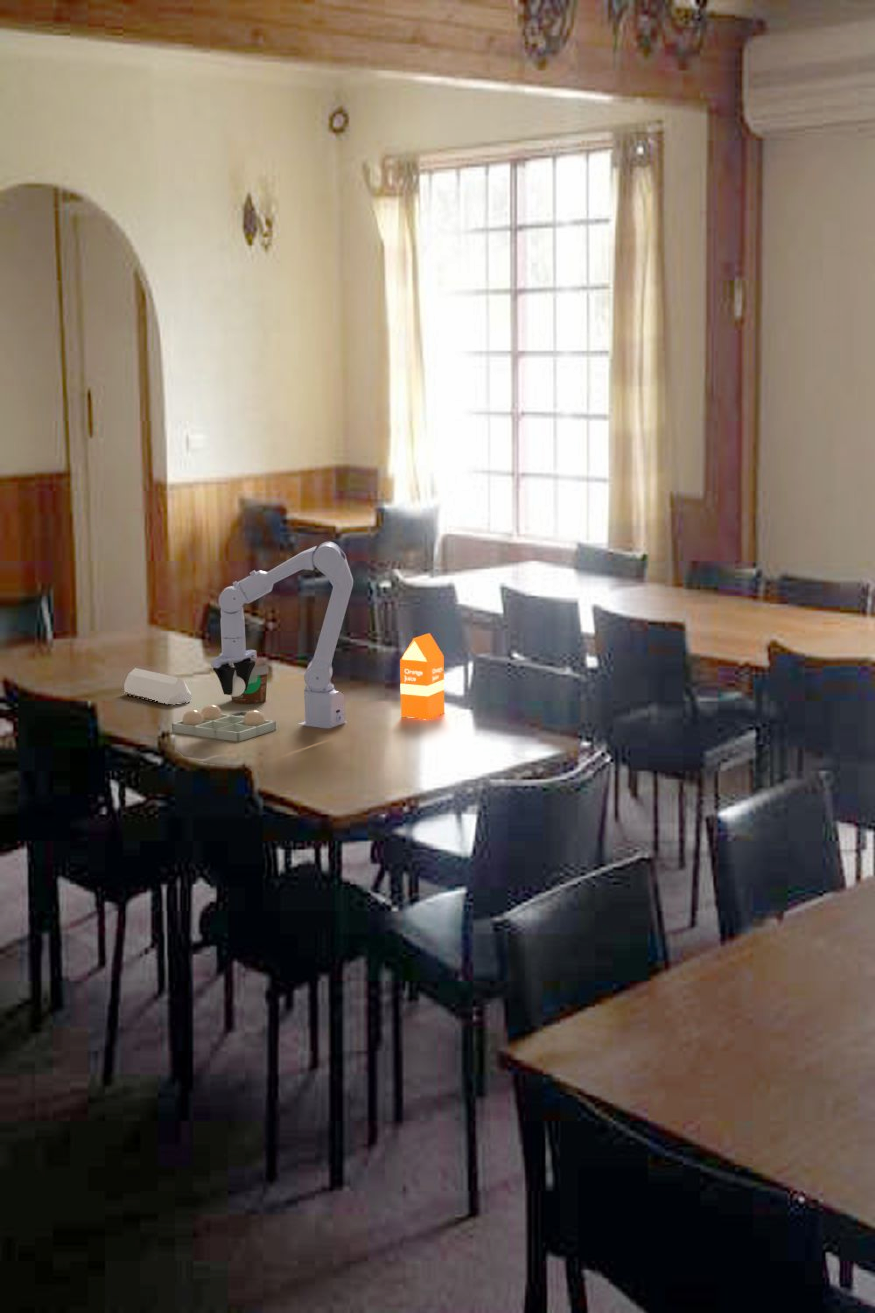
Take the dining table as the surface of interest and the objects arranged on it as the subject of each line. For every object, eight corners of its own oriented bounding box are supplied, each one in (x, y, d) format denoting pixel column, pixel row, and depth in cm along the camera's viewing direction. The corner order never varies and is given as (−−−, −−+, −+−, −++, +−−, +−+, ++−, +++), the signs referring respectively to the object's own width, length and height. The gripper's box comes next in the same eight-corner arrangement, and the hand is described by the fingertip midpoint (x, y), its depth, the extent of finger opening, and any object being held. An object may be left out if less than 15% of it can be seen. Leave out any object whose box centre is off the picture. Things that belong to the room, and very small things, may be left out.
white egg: (250, 695, 397) (249, 675, 396) (236, 699, 393) (235, 678, 392) (234, 693, 400) (233, 673, 399) (220, 697, 396) (219, 676, 395)
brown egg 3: (269, 730, 391) (268, 709, 390) (256, 734, 387) (255, 713, 386) (253, 727, 394) (252, 707, 393) (239, 731, 389) (238, 711, 388)
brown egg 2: (226, 723, 398) (225, 703, 397) (213, 728, 394) (212, 707, 393) (210, 721, 401) (209, 701, 400) (197, 725, 396) (196, 705, 396)
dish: (261, 718, 405) (261, 714, 405) (244, 724, 400) (244, 719, 400) (240, 716, 409) (240, 711, 409) (223, 721, 403) (223, 716, 403)
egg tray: (276, 732, 391) (275, 721, 391) (238, 744, 380) (238, 733, 379) (210, 722, 402) (209, 712, 402) (172, 734, 391) (171, 723, 390)
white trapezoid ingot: (201, 687, 426) (148, 675, 443) (181, 677, 421) (128, 666, 438) (191, 714, 424) (138, 701, 441) (170, 704, 419) (117, 691, 436)
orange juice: (400, 717, 405) (398, 637, 401) (417, 710, 412) (416, 631, 409) (428, 720, 401) (427, 639, 397) (445, 713, 409) (444, 633, 405)
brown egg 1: (208, 729, 392) (207, 708, 392) (194, 733, 388) (193, 712, 387) (192, 727, 395) (191, 706, 394) (178, 731, 391) (177, 710, 390)
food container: (217, 704, 423) (215, 665, 422) (230, 699, 429) (229, 661, 427) (257, 708, 418) (255, 669, 416) (270, 703, 423) (269, 665, 421)
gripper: (240, 630, 402) (242, 685, 404) (200, 640, 390) (202, 696, 392) (262, 633, 398) (264, 688, 400) (222, 642, 386) (225, 699, 389)
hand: (235, 692), depth 396 cm, fingers closed on white egg, 5 cm apart
